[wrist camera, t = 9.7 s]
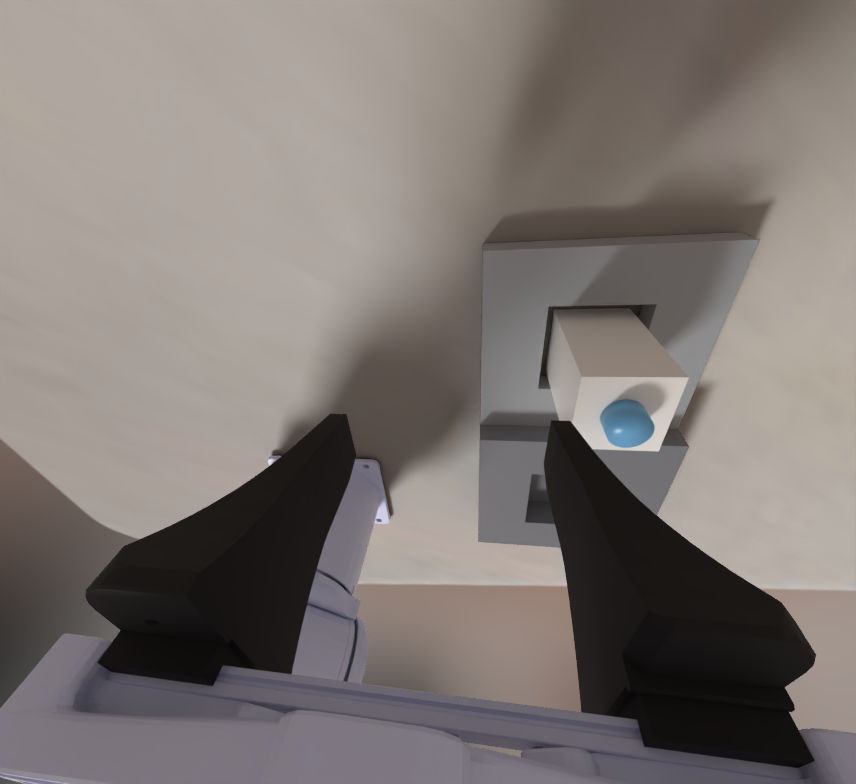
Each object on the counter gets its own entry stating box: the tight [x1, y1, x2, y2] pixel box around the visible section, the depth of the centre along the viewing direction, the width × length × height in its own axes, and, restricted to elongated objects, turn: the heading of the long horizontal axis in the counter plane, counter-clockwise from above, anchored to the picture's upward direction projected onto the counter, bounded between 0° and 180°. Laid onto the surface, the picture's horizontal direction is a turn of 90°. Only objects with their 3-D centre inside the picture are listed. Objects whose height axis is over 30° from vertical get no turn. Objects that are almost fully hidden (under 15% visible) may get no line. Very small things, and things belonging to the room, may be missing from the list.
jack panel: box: [478, 232, 760, 548], centre depth 23 cm, size 12×22×3 cm, turn 4°
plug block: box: [546, 308, 689, 452], centre depth 18 cm, size 4×4×8 cm
